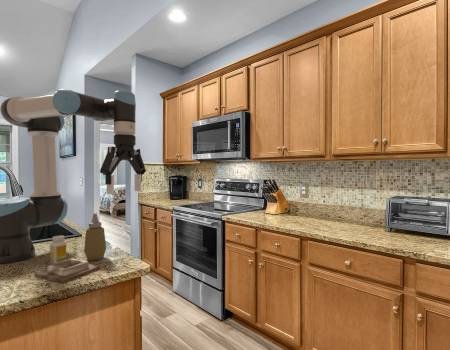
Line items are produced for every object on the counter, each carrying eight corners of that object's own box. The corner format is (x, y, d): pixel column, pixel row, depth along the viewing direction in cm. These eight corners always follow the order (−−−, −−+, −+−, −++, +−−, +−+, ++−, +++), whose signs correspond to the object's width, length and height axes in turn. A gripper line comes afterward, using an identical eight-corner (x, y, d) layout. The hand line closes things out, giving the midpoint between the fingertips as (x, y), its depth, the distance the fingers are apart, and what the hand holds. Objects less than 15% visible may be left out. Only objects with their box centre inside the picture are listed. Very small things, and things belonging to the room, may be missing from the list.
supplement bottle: (47, 264, 105) (47, 238, 105) (54, 259, 111) (54, 235, 110) (62, 263, 106) (62, 238, 106) (69, 258, 111) (68, 234, 111)
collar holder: (34, 276, 93) (34, 267, 93) (73, 263, 106) (73, 255, 106) (62, 283, 87) (62, 273, 87) (99, 268, 100) (99, 260, 100)
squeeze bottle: (97, 262, 107) (97, 215, 106) (79, 261, 108) (78, 214, 108) (110, 256, 115) (110, 212, 114) (93, 254, 116) (92, 211, 116)
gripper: (104, 129, 90) (104, 195, 90) (155, 137, 112) (155, 190, 113) (88, 131, 93) (88, 194, 94) (140, 138, 116) (140, 189, 116)
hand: (124, 192), depth 103 cm, fingers open, 13 cm apart
